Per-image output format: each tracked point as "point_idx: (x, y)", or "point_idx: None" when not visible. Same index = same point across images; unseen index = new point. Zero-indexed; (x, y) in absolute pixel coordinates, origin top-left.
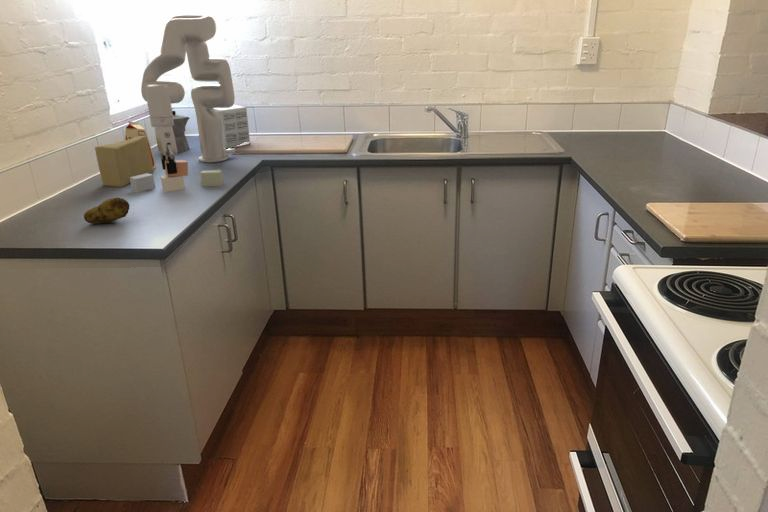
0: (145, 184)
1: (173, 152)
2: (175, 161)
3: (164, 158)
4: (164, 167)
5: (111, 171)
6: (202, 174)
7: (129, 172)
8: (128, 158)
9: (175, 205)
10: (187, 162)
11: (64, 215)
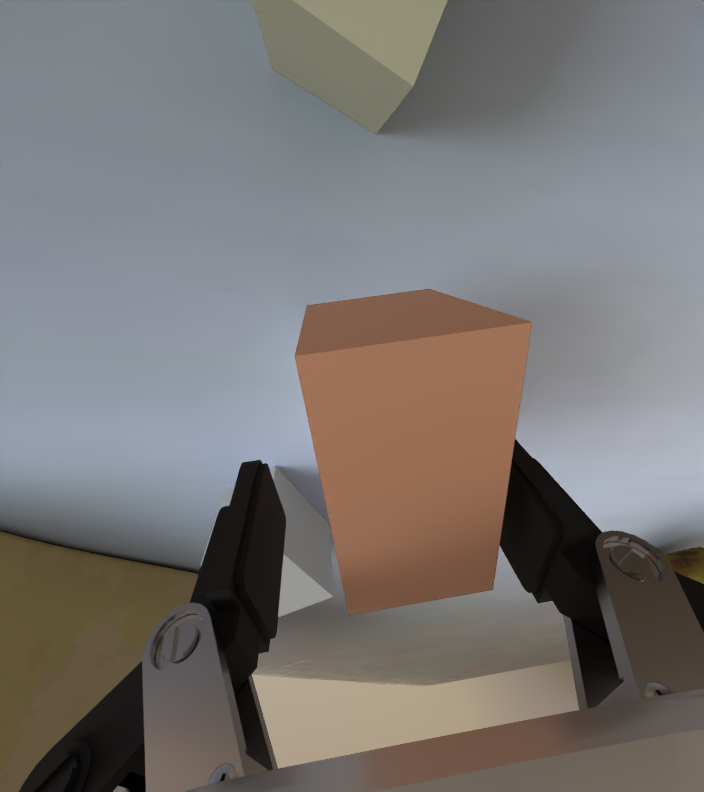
0: (305, 525)
1: (468, 738)
2: (432, 511)
3: (255, 635)
4: (282, 529)
5: None
6: (424, 49)
7: (98, 620)
8: (4, 750)
9: (678, 388)
10: (523, 320)
11: (476, 633)
